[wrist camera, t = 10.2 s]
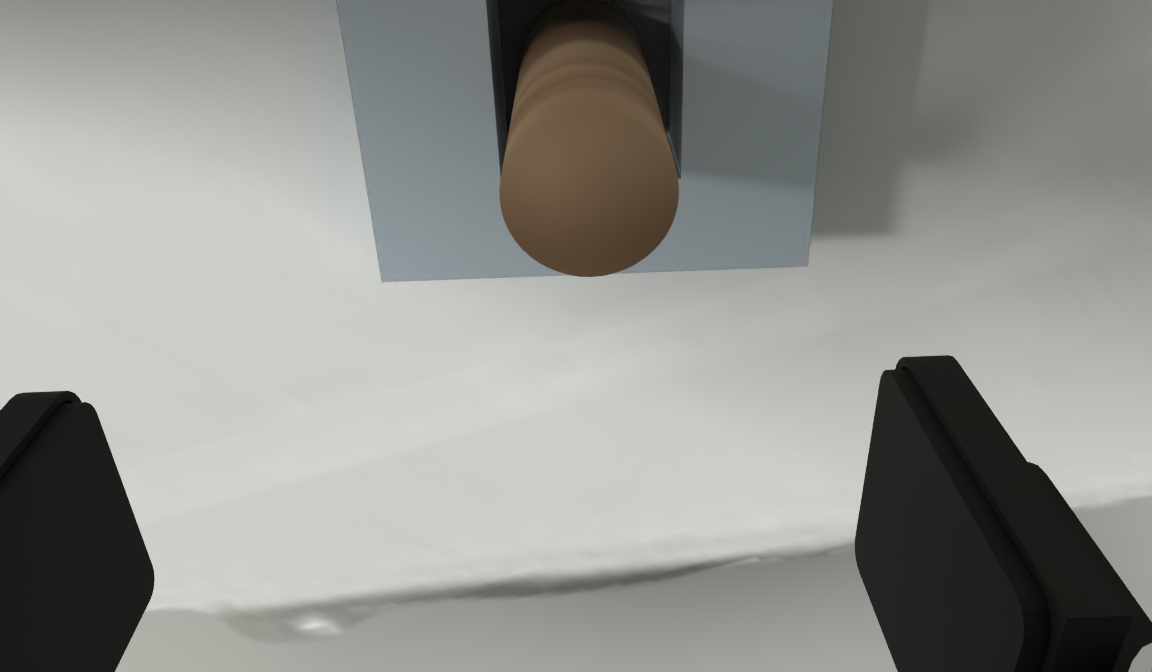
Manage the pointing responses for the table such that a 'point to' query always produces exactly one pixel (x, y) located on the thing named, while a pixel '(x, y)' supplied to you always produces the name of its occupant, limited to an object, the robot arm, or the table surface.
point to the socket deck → (479, 134)
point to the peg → (586, 145)
